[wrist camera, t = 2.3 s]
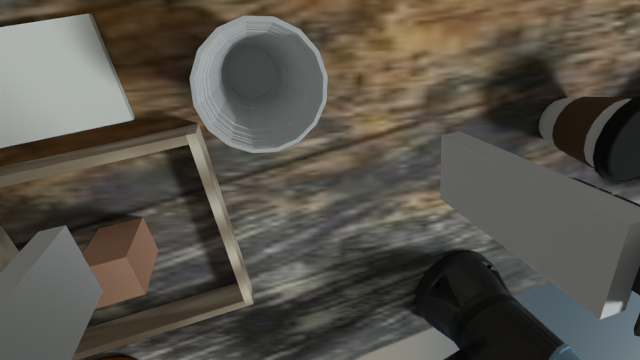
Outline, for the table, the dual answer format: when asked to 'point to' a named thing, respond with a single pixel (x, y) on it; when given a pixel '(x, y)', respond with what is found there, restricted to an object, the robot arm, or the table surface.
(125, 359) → the wine bottle
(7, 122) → the pad
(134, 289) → the block
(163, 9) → the table surface
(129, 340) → the frame
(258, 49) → the plastic cup
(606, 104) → the coffee cup
